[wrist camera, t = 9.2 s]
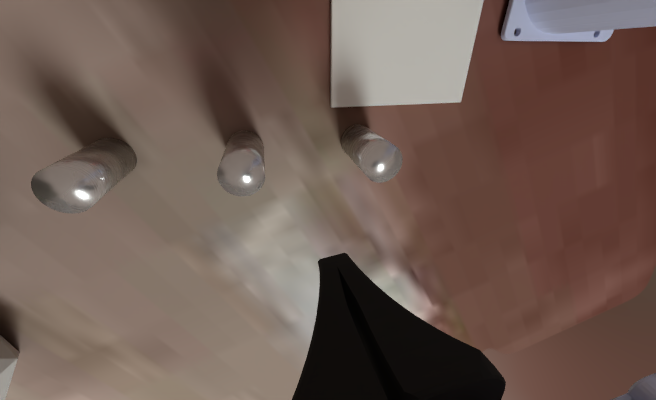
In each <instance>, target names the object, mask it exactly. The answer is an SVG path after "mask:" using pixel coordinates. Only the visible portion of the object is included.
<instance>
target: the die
mask: <svg viewBox="0 0 656 400" xmlns="http://www.w3.org/2000/svg"><path fill="white" fill-rule="evenodd" d="M19 353H20V352H19V351H18V350H16V349H15V348H14V347H13V346H12V345H11V344H10V343H9V342H8V341H6V340H5V339H4V338H3V337H2V336H1V335H0V400H5V398H6V395H7V392H8V388H9V385H10V382H11V379H12V375H13V372H14V369H15V366H16V362H17V359H18V356H19Z"/></svg>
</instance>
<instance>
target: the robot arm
mask: <svg viewBox="0 0 656 400" xmlns="http://www.w3.org/2000/svg"><path fill="white" fill-rule="evenodd" d="M651 26H656V0H509V4H508V8H507V12H506V16H505V19H504V23H503V27H502V31H501V38H502V40H504V41H577V42H604V41H606V40H608V39H609V38H610V37H611V35H612V33H613V31H614V29H625V28H638V27H651ZM515 29H516V34H515V35H514V31H515ZM318 264H319V270H320V289H319V301H318V309H317V316H316V321H315V326H314V331H313V336H312V340H311V344H310V348H309V351H308V355H307V358H306V361H305V364H304V367H303V371H302V374H301V377H300V380H299V383H298V385H297V388H296V391H295V393H294V396H293V398H292V400H501V398H502V396H503V393H504V390H505V383H506V382H505V380H504V378H503V377H502V375H501V374H500V373H499V371H498V370H497V369H496V368H495V366H494V365H493V364H492V363H491V362H490V361H489V360H488V359H487V358H486V356H485V355H484V354H483V353H482V352H481V351H480V350H478V349H476V348H474V347H472V346H470V345H468V344H466V343H463V342H461V341H459V340H457V339H455V338H453V337H451V336H449V335H448V334H446V333H444V332H442V331H440V330H438V329H437V328H435V327H433V326H432V325H430V324H428V323H427V322H425V321H423V320H422V319H420V318H419V317H417V316H415V315H414V314H412V313H411V312H410V311H408V310H407V309H405V308H404V307H402V306H401V305H400V304H398V303H397V302H396V301H394V300H393V299H392V298H391V297H389V296H388V295H387V294H386V293H385V292H383V291H382V290H381V289H380V288H379V287H378V286H377V285H375V284H374V283H373V282H372V281H371V280H370V279H369V278H368V277H367V276H366V275H365V274H364V273H363V272H362V271H361V270H360V269H359V268H358V267H357V265H356V264H355V263H354V262H353V261H352V260H351V258H350V257H349V256H348V254H346V253H342V254H338V255H334V256H331V257H327V258H323V259H320V260H319V261H318ZM611 400H656V373H654V374H652V375H649V376H647V377H644V378H642V379H640V380H638V381H637V382H635V383H634V384H633V385H632V386H631V388H630V389H629V390H628V393H627V394H624V395H621V396H619V397H616V398H614V399H611Z"/></svg>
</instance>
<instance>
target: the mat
mask: <svg viewBox="0 0 656 400" xmlns="http://www.w3.org/2000/svg"><path fill="white" fill-rule="evenodd" d="M482 5H483V0H331V107H355V106H380V105H405V104H430V103H454V102H461V99H462V95H463V90H464V86H465V81H466V77H467V72H468V68H469V63H470V59H471V54H472V50H473V45H474V41H475V36H476V32H477V27H478V23H479V18H480V14H481V9H482Z"/></svg>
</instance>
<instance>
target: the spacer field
mask: <svg viewBox="0 0 656 400" xmlns="http://www.w3.org/2000/svg"><path fill="white" fill-rule="evenodd" d="M341 146H342V149H343V150H344V152H345V153H346V154H347V155H348V156H349V157H350V158H351V159H352V160H353V162H354V163H355V164H356V165H357V166H358V167H359V168H360V169H361V170H362V172H363V173H364V174H365V175H366V176H367V177H368V178H369V179H370V180H372V181H374V182H386V181H388V180H390V179H392V178H393V177H394V176H395V175H396V174H397V173H398V172H399V170H400V168H401V165H402V154H401V152H400V150H399V149H398V148H397V147H396V146H395V145H393V144H392V143H390V142H388V141H387V140H385V139H384V138H382V137H381V136H379V135H378V134H376V133H375V132H373V131H372V130H370V129H369V128H367V127H365V126H364V125H360V124H357V125H353V126H350V127H349V128H347V129H346V130H345V132H344V133H343V135H342V138H341ZM136 163H137V158H136V155H135V153H134V151H133V150H132V148H131V147H130V146H128V145H127V144H126V143H124V142H122V141H120V140H118V139H114V138H103V139H100V140H98V141H96V142H94V143H92V144H90V145H88V146H86V147H84V148H82V149H81V150H79V151H77V152H75V153H73V154H71V155H69V156H67V157H65V158H63V159H61V160H59V161H57V162H55V163H53V164H51V165H50V166H48V167H46V168H44V169H42V170H40V171H38V172H37V173H36V174H35V175H34V176H33V178H32V181H31V187H32V191H33V193H34V194H35V196H36V197H37V198H38V200H40V201H41V202H42V203H43V204H44V205H46V206H48V207H49V208H51V209H54V210H56V211H59V212H64V213H80V212H84V211H86V210H88V209H89V208H91V207H92V206H93V205H94V204H95V203H96V202H97V201H99V200H100V199H101V198H102V197H103V196H104V195H105V194H106V193H108V192H109V191H110V190H111V189H112V188H113V187H114V186H115V185H117V184H118V183H119V182H120V181H121V180H122V179H123V178H124V177H125V176H127V175H128V174H129V173H130V172H131V171H132V170H133V169H134V168H135V166H136ZM217 176H218V181H219V183H220V185H221V186H222V187H223V188H224V189H225V190H226V191H227V192H229V193H230V194H233V195H236V196H249V195H252V194H254V193H256V192H257V191H258V190H260V188H261V187H262V186H263V184H264V181H265V165H264V146H263V143H262V141H261V139H260V138H259V137H258V136H257V135H256V134H255V133H253V132H250V131H238V132H236V133H234V134H233V135H232V136H231V137H230V138H229V140H228V143H227V146H226V149H225V151H224V154H223V157H222V159H221V162H220V165H219V168H218V172H217Z"/></svg>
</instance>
